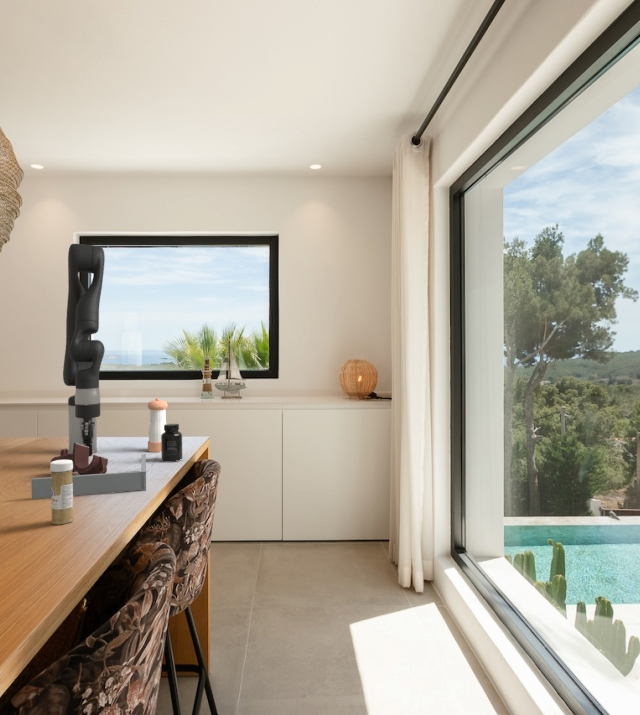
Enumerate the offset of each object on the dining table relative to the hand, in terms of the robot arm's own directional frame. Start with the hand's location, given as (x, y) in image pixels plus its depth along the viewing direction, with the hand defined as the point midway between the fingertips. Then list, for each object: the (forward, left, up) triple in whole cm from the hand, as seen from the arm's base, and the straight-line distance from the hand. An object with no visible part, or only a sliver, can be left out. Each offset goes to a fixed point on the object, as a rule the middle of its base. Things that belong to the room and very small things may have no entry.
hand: (88, 456), depth 184 cm
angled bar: (+26, +4, -3) cm, 26 cm away
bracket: (+15, -1, -3) cm, 15 cm away
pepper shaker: (-19, +22, -3) cm, 29 cm away
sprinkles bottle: (+61, 0, -3) cm, 61 cm away
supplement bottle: (0, +26, -3) cm, 26 cm away
